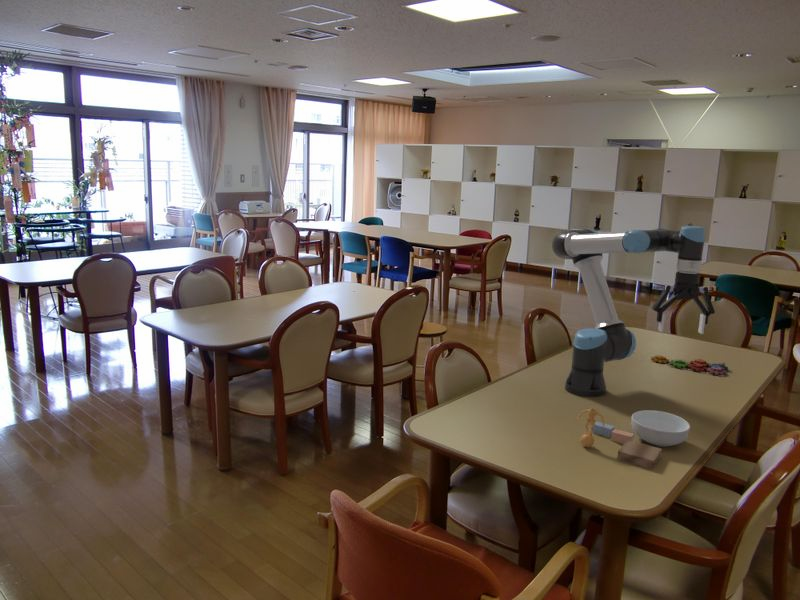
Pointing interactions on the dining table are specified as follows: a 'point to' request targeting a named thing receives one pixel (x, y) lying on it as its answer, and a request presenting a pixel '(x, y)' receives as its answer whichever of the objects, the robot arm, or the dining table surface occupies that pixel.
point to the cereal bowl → (659, 427)
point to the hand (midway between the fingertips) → (680, 332)
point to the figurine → (588, 439)
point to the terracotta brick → (621, 436)
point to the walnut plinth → (639, 454)
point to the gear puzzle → (694, 365)
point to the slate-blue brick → (603, 429)
